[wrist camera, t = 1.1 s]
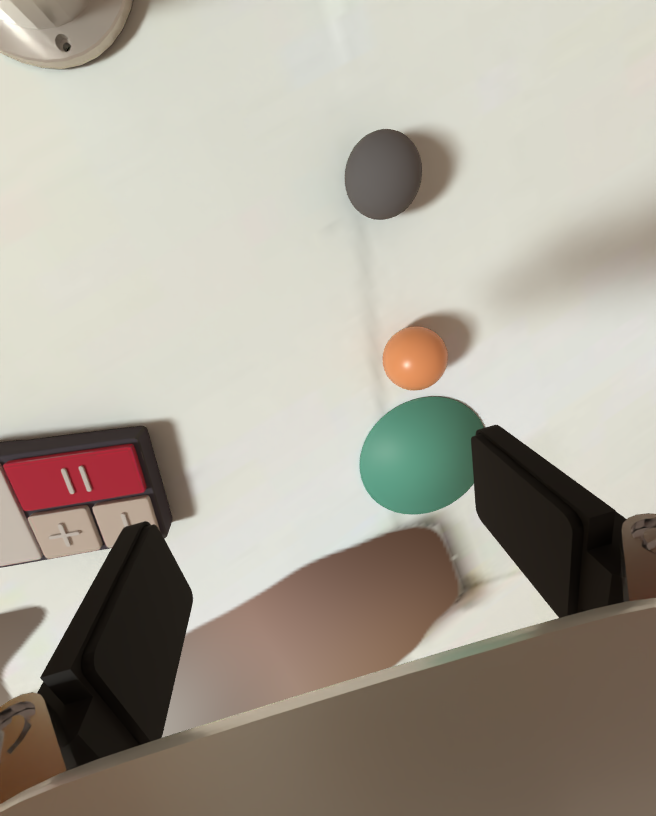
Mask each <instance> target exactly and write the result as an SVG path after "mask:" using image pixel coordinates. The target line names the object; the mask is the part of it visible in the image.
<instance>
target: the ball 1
mask: <svg viewBox="0 0 656 816" xmlns="http://www.w3.org/2000/svg"><path fill="white" fill-rule="evenodd" d="M421 177H422V164H421V159H420V155H419V153H418V150H417V148H416V147H415V145H414V143H413V142H412V141H411V140H410V139H409V138H408V137H407V136H406V135H404V134H403V133H401V132H399V131H395V130H391V129H381V130H377V131H374V132H372V133H370V134H368V135H366V136H365V137H364V138H362V139H361V140H360V141H359V142H358V143H357V145H356V146H355V147H354V148H353V150H352V152H351V154H350V156H349V158H348V161H347V164H346V169H345V186H346V191H347V195H348V197H349V199H350V201H351V203H352V204H353V206H354V207H355V208H356V209H357V210H358V211H359V212H360V213H361V214H363V215H365V216H366V217H369V218H372V219H377V220H383V219H389V218H392V217H395V216H396V215H398V214H400V213H401V212H403V211H404V210H405V209H406V208H407V207H408V206H409V205H410V204H411V202H412V201H413V199H414V198H415V196H416V194H417V192H418V189H419V187H420V183H421Z"/></svg>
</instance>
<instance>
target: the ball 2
mask: <svg viewBox="0 0 656 816" xmlns="http://www.w3.org/2000/svg"><path fill="white" fill-rule="evenodd" d="M447 361H448V353H447V349H446V346H445V344H444V342H443V340H442V339H441V338H440V336H439V335H438V334H436V333H435V332H434V331H432V330H430V329H428V328H424V327H418V326H415V327H408V328H405V329H402V330H400V331H399V332H397V333H396V334H394V335H393V336H392V337H391V338H390V340H389V341H388V342H387V344H386V346H385V349H384V352H383V366H384V370H385V372H386V374H387V376H388V377H389V379H390V380H391V381H392V382H393V383H394V384H396V385H397V386H399V387H401V388H403V389H407V390H422V389H425V388H428V387H430V386H432V385H433V384H435V383H436V382H437V381H438V380H439V379H440V378H441V376H442V375H443V373H444V371H445V369H446V366H447Z"/></svg>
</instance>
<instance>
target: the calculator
mask: <svg viewBox="0 0 656 816" xmlns="http://www.w3.org/2000/svg"><path fill="white" fill-rule="evenodd" d="M144 521H147V522H149V523H150V524H151V525H153V524H155V525H156V526H157V527H158V528H159V530H160V532H161V534H162V536H163V538H166V537H167V535H168V532H169V529H170V526H171V523H172V515H171V511H170V508H169V504H168V501H167V497H166V494H165V490H164V487H163V483H162V479H161V476H160V472H159V469H158V465H157V462H156V458H155V455H154V451H153V448H152V444H151V441H150V437H149V433H148V430H147V428H146V427H144V426H137V427H128V428H120V429H111V430H102V431H94V432H86V433H78V434H70V435H63V436H55V437H48V438H40V439H33V440H25V441H24V440H16V441H7V442H0V568H1V567H8V566H13V565H19V564H24V563H30V562H36V561H41V560H47V559H52V558H58V557H64V556H69V555H75V554H81V553H86V552H92V551H97V550H103V549H109V548H112V547H113V545H114V543H115V542H116V540H117V538H118V536H119V534H120V533H121V531H122V529H123V528H124V527H126V526H129V525H133V524H137V523H140V522H144Z"/></svg>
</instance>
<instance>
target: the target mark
mask: <svg viewBox="0 0 656 816" xmlns="http://www.w3.org/2000/svg"><path fill="white" fill-rule="evenodd" d="M482 428H484V426H483V425H482V423H481V421H480V419H479V418H478V417H477V415H476V414H475V413H474V412H473V411H472V410H471V409H469V408H468V407H467V406H465V405H464V404H462V403H460V402H458V401H456V400H452V399H449V398H444V397H423V398H418V399H414V400H411V401H408V402H405V403H403V404H401V405H399V406H397V407H396V408H394V409H392V410H391V411H389V412H388V413H387V414H386V415H384V416H383V417H382V418H381V419H380V420H379V421H378V422H377V423H376V424H375V426H374V427H373V428H372V430H371V431H370V433H369V434H368V436H367V438H366V440H365V442H364V445H363V447H362V451H361V455H360V474H361V478H362V481H363V484H364V486H365V488H366V490H367V492H368V493H369V494H370V496H371V497H372V498H373V499H374V500H375V501H376V502H377V503H379V504H380V505H381V506H383V507H385V508H387V509H389V510H391V511H394V512H398V513H402V514H423V513H429V512H433V511H436V510H439V509H441V508H443V507H446V506H448V505H450V504H451V503H453V502H454V501H456V500H457V499H459V498H460V497H461V496H462V495H464V494H465V493H466V492H467V491H468V490H469V489H470V487H471V486H472V485H473V484H474V476H473V462H472V449H471V438H472V436H475V434H476V431H477V430H479V429H482Z"/></svg>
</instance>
